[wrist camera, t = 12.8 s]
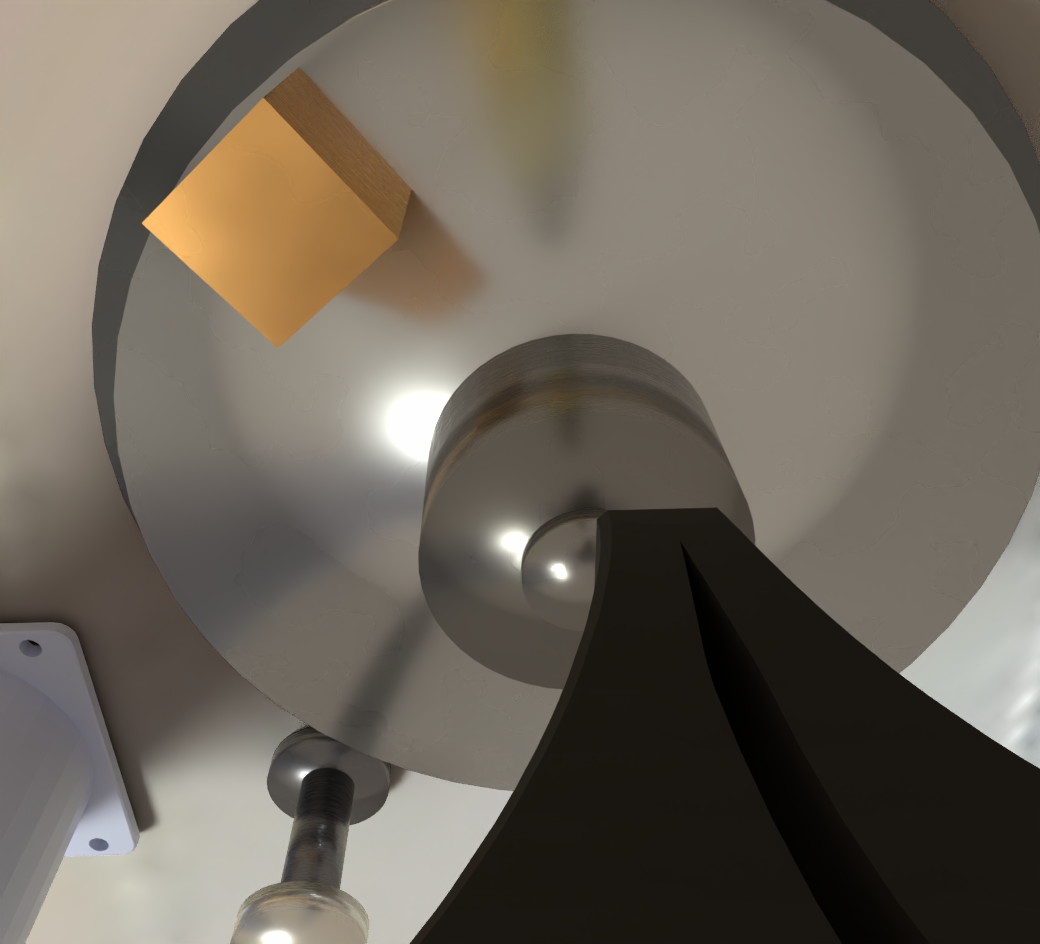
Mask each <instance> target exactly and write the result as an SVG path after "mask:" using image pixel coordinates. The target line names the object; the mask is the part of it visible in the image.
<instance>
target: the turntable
mask: <svg viewBox="0 0 1040 944" xmlns="http://www.w3.org/2000/svg"><path fill="white" fill-rule="evenodd" d="M142 224H143V225H144V226H145V227H146V228H147V229H148V230H149V231H151V232H150V234H149V237H148V239H147V242H146V244H145V247H144V249H143V252H142V254H141V257H140V259H139V262H138V264H137V267H136V269H135V272H134V274H133V277H132V279H131V283H130V288H129V292H128V296H127V301H126V305H125V309H124V314H123V318H122V322H121V327H120V331H119V335H118V342H117V356H116V370H115V384H114V408H115V420H116V433H117V445H118V454H119V458H120V462H121V467H122V471H123V475H124V480H125V484H126V488H127V492H128V497H129V501H130V505H131V507H132V510H133V513H134V515H135V518H136V520H137V523H138V525H139V528H140V530H141V533H142V536H143V538H144V541H145V543H146V546H147V548H148V551H149V553H150V555H151V557H152V559H153V561H154V562H155V564H156V566H157V568H158V569H159V571H160V573H161V575H162V577H163V578H164V580H165V582H166V584H167V585H168V587H169V589H170V591H171V593H172V594H173V596H174V598H175V599H176V601H177V602H178V603H179V605H180V606H181V607H182V609H183V610H184V611H185V613H186V614H187V615H188V617H189V618H190V619H191V621H192V622H193V623H194V625H195V626H196V627H197V629H198V630H199V631H200V633H201V634H202V635H203V637H204V638H205V639H206V640H207V641H208V642H209V643H210V644H211V645H212V646H213V647H214V648H215V649H216V650H217V651H218V652H219V653H220V655H221V656H222V657H223V658H224V659H225V660H226V661H227V662H228V663H229V664H230V665H231V666H232V667H233V668H234V669H235V670H236V671H237V672H238V673H239V674H240V675H241V676H242V677H244V678H245V679H246V680H247V681H249V682H250V683H251V684H252V685H254V686H255V687H256V688H257V689H258V690H260V691H261V692H262V693H263V694H265V695H266V696H267V697H268V698H269V699H271V700H272V701H273V702H274V703H276V704H277V705H278V706H280V707H282V708H283V709H285V710H286V711H288V712H289V713H291V714H292V715H294V716H296V717H297V718H299V719H300V720H302V721H303V722H305V723H306V724H308V725H310V726H311V727H313V728H314V729H316V730H317V731H319V732H321V733H323V734H325V735H327V736H329V737H331V738H333V739H335V740H337V741H339V742H341V743H343V744H345V745H347V746H349V747H351V748H353V749H355V750H357V751H359V752H361V753H364V754H367V755H369V756H372V757H375V758H377V759H380V760H382V761H385V762H388V763H390V764H393V765H396V766H398V767H401V768H404V769H406V770H410V771H414V772H418V773H421V774H425V775H429V776H433V777H436V778H440V779H444V780H448V781H451V782H456V783H462V784H468V785H474V786H480V787H486V788H492V789H498V790H509V791H514V790H515V788H516V786H517V784H518V782H519V780H520V778H521V777H522V775H523V773H524V771H525V769H526V767H527V765H528V764H529V762H530V760H531V758H532V756H533V754H534V752H535V750H536V748H537V746H538V744H539V742H540V740H541V738H542V736H543V734H544V732H545V730H546V727H547V725H548V723H549V721H550V719H551V717H552V715H553V712H554V710H555V708H556V705H557V703H558V701H559V698H560V696H561V693H562V691H563V690H562V689H552V688H544V687H540V686H535V685H530V684H526V683H523V682H520V681H516V680H513V679H510V678H507V677H505V676H503V675H501V674H499V673H496V672H494V671H492V670H490V669H488V668H487V667H485V666H483V665H482V664H480V663H478V662H477V661H475V660H473V659H472V658H471V657H470V656H468V655H467V654H466V653H465V652H463V651H462V650H461V649H459V648H458V646H457V645H456V644H455V643H454V642H453V641H452V640H451V639H450V638H449V637H448V636H447V635H446V634H445V632H444V631H443V630H442V628H441V627H440V626H439V624H438V623H437V622H436V620H435V618H434V616H433V614H432V612H431V611H430V609H429V607H428V605H427V602H426V599H425V596H424V593H423V591H422V587H421V581H420V576H419V563H418V551H419V542H420V532H421V523H422V513H423V503H424V494H425V484H426V475H427V465H428V456H429V449H430V442H431V438H432V434H433V431H434V428H435V424H436V422H437V420H438V418H439V416H440V414H441V411H442V409H443V408H444V406H445V404H446V403H447V401H448V400H449V398H450V397H451V395H452V394H453V393H454V391H455V390H456V389H457V388H458V387H459V386H460V384H461V383H462V382H463V381H464V380H465V379H466V378H467V377H468V376H469V375H470V374H472V373H473V372H474V371H475V370H476V369H477V368H478V367H480V366H481V365H483V364H484V363H486V362H487V361H489V360H490V359H492V358H493V357H494V356H496V355H498V354H500V353H502V352H504V351H506V350H508V349H510V348H512V347H514V346H517V345H520V344H523V343H526V342H528V341H531V340H535V339H540V338H544V337H549V336H555V335H565V334H594V335H601V336H608V337H613V338H617V339H621V340H624V341H628V342H631V343H634V344H636V345H638V346H641V347H643V348H645V349H648V350H650V351H651V352H653V353H655V354H656V355H658V356H660V357H661V358H663V359H665V360H666V361H667V362H668V363H670V364H671V365H672V366H673V367H675V368H676V369H677V370H678V371H680V373H681V374H682V375H683V376H684V377H685V378H686V379H687V380H688V381H689V382H690V383H691V384H692V386H693V387H694V389H695V390H696V392H697V393H698V395H699V396H700V398H701V399H702V401H703V403H704V406H705V408H706V410H707V412H708V414H709V416H710V418H711V421H712V423H713V425H714V427H715V430H716V432H717V434H718V437H719V439H720V441H721V443H722V446H723V448H724V450H725V452H726V455H727V457H728V459H729V462H730V464H731V466H732V468H733V471H734V473H735V475H736V477H737V480H738V482H739V484H740V487H741V489H742V491H743V493H744V496H745V498H746V500H747V502H748V505H749V509H750V512H751V515H752V519H753V524H754V532H755V546H756V547H757V548H758V549H759V550H760V551H761V552H762V553H763V554H764V555H765V556H766V557H767V558H768V559H769V560H770V561H771V562H772V563H774V564H775V565H776V566H777V567H778V568H779V569H780V570H781V571H782V572H783V573H784V574H785V575H786V576H787V577H788V578H789V579H790V580H791V581H792V582H793V583H794V584H795V585H796V586H797V587H798V588H799V589H800V590H801V591H803V592H804V593H805V594H806V595H807V596H808V597H809V598H810V599H811V600H812V601H813V602H815V603H816V604H817V605H818V606H819V607H820V608H821V609H822V610H823V611H824V612H826V613H827V614H828V615H829V616H830V617H831V618H832V619H833V620H835V621H836V622H837V623H838V624H839V625H840V626H842V627H843V628H844V629H845V630H846V631H847V632H848V633H850V634H851V635H852V636H853V637H854V638H855V639H857V640H858V641H859V642H860V643H862V644H863V645H864V646H865V647H867V648H868V649H869V650H870V651H872V652H873V653H874V654H875V655H877V656H878V657H879V658H880V659H881V660H883V661H884V662H885V663H886V664H888V665H889V666H890V667H891V668H893V669H894V670H895V671H896V672H898V673H900V672H901V671H903V670H904V669H905V668H906V667H908V666H909V665H910V664H911V663H912V662H913V661H915V660H916V659H917V658H918V657H919V656H920V655H921V654H922V653H923V652H924V651H925V650H926V649H927V648H928V647H929V646H930V645H931V644H932V643H933V642H934V641H935V640H936V639H937V638H938V637H939V636H940V635H941V634H942V633H943V632H944V631H945V630H946V629H947V628H948V627H949V626H950V624H951V623H952V622H953V621H954V620H955V618H956V617H957V616H958V615H959V613H960V612H961V611H962V610H963V609H964V607H965V606H966V605H967V604H968V602H969V601H970V600H971V599H972V597H973V596H974V595H975V594H976V593H977V591H978V590H979V589H980V588H981V586H982V585H983V583H984V581H985V580H986V578H987V577H988V575H989V574H990V572H991V570H992V569H993V567H994V566H995V564H996V563H997V561H998V559H999V558H1000V556H1001V555H1002V553H1003V552H1004V550H1005V548H1006V547H1007V545H1008V544H1009V542H1010V540H1011V538H1012V536H1013V533H1014V531H1015V529H1016V527H1017V525H1018V523H1019V521H1020V519H1021V517H1022V515H1023V512H1024V510H1025V508H1026V506H1027V504H1028V502H1029V500H1030V498H1031V496H1032V493H1033V490H1034V486H1035V483H1036V480H1037V477H1038V474H1039V471H1040V233H1039V229H1038V226H1037V223H1036V219H1035V217H1034V215H1033V213H1032V211H1031V209H1030V207H1029V205H1028V203H1027V201H1026V198H1025V196H1024V194H1023V192H1022V190H1021V188H1020V186H1019V184H1018V182H1017V180H1016V178H1015V176H1014V173H1013V171H1012V169H1011V167H1010V165H1009V163H1008V162H1007V160H1006V159H1005V158H1004V156H1003V155H1002V153H1001V152H1000V151H999V149H998V148H997V146H996V145H995V143H994V142H993V141H992V139H991V138H990V136H989V135H988V133H987V132H986V131H985V129H984V128H983V126H982V125H981V123H980V122H979V121H978V119H977V118H976V116H975V115H974V114H973V112H972V111H971V110H970V109H969V108H968V107H967V106H966V105H965V104H964V103H963V102H962V101H961V100H960V99H959V98H958V97H957V96H956V95H955V94H954V93H953V92H952V91H951V90H950V89H949V88H948V86H947V85H946V84H945V83H944V82H943V81H942V80H941V79H940V78H939V77H938V76H937V75H936V74H935V73H934V72H933V71H932V70H931V69H930V68H929V67H928V66H927V65H926V64H925V63H924V62H922V61H921V60H919V59H918V58H917V57H915V56H914V55H913V54H911V53H910V52H908V51H907V50H906V49H904V48H903V47H902V46H900V45H899V44H897V43H896V42H895V41H893V40H892V39H891V38H889V37H888V36H886V35H885V34H884V33H882V32H881V31H880V30H878V29H877V28H875V27H874V26H873V25H871V24H870V23H869V22H867V21H865V20H863V19H861V18H859V17H857V16H855V15H853V14H851V13H849V12H847V11H845V10H843V9H841V8H839V7H837V6H835V5H833V4H831V3H829V2H827V1H825V0H383V1H381V2H379V3H376V4H374V5H372V6H370V7H368V8H366V9H363V10H361V11H360V12H358V13H357V14H355V15H354V16H352V17H351V18H349V19H348V20H346V21H345V22H343V23H342V24H340V25H339V26H337V27H336V28H334V29H333V30H331V31H330V32H328V33H326V34H325V35H323V36H322V37H320V38H319V39H317V40H316V41H314V42H313V43H311V44H310V45H308V46H307V47H305V48H304V49H302V50H301V51H300V52H298V53H297V54H296V55H295V56H293V57H292V58H291V59H289V60H288V61H287V62H286V63H285V64H284V65H283V66H281V67H280V68H279V69H278V70H277V71H276V72H275V73H274V74H273V75H271V76H270V77H269V78H268V79H267V80H266V81H265V82H264V83H262V84H261V85H260V86H259V87H258V88H257V89H256V90H255V91H254V92H252V93H251V94H250V95H249V96H248V97H247V98H246V99H245V100H244V101H242V102H241V103H240V104H239V105H238V106H237V107H236V108H235V109H233V111H232V112H231V113H230V114H229V115H228V117H227V118H226V119H225V120H224V122H223V123H222V124H221V125H220V126H219V128H218V129H217V130H216V131H215V132H214V134H213V135H212V136H211V137H210V139H209V140H208V141H207V142H206V143H205V145H204V146H203V147H202V148H201V149H200V151H199V152H198V153H197V154H196V156H195V157H194V158H193V159H192V160H191V162H190V163H189V164H188V166H187V168H186V169H185V171H184V173H183V174H182V176H181V178H180V179H179V181H178V183H177V184H176V186H175V188H174V190H173V191H172V192H171V193H170V194H169V195H168V196H167V197H166V199H165V200H164V201H163V202H162V203H161V204H160V205H159V206H158V207H157V208H156V209H155V210H154V211H153V212H152V213H151V214H150V215H149V216H148V217H147V218H146V219H145V220H144V221H143V222H142Z"/></svg>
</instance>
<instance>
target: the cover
mask: <svg viewBox="0 0 1040 944" xmlns="http://www.w3.org/2000/svg"><path fill="white" fill-rule="evenodd" d="M715 507H717V508H718V509H719V510H720V511H721V512H722V513H723V514H724V515H725V516H726V517H727V518H728V519H729V520H730V521H731V522H732V523H733V524H734V525H735V526H736V527H737V528H738V529H739V530H740V531H741V532H742V533H743V534H744V535H745V536H746V537H747V538H748V539H749V540H750V541H751V542H752V543H753V544H754V545H755V532H754V524H753V519H752V515H751V512H750V509H749V505H748V502H747V500H746V498H745V496H744V493H743V491H742V489H741V487H740V484H739V482H738V480H737V477H736V475H735V473H734V471H733V468H732V466H731V464H730V462H729V459H728V457H727V455H726V452H725V450H724V448H723V446H722V443H721V441H720V439H719V437H718V434H717V432H716V430H715V427H714V425H713V423H712V421H711V418H710V416H709V414H708V412H707V410H706V408H705V406H704V403H703V401H702V399H701V398H700V396H699V395H698V393H697V392H696V390H695V389H694V387H693V386H692V384H691V383H690V382H689V381H688V380H687V379H686V378H685V377H684V376H683V375H682V374H681V373H680V371H678V370H677V369H676V368H675V367H673V366H672V365H671V364H670V363H668V362H667V361H666V360H665V359H663V358H661V357H660V356H658V355H656V354H655V353H653V352H651V351H650V350H648V349H645V348H643V347H641V346H638V345H636V344H634V343H631V342H628V341H624V340H621V339H617V338H613V337H608V336H601V335H594V334H565V335H555V336H549V337H544V338H540V339H535V340H531V341H528V342H526V343H523V344H520V345H517V346H514V347H512V348H510V349H508V350H506V351H504V352H502V353H500V354H498V355H496V356H494V357H493V358H492V359H490V360H489V361H487V362H486V363H484V364H483V365H481V366H480V367H478V368H477V369H476V370H475V371H474V372H473V373H472V374H470V375H469V376H468V377H467V378H466V379H465V380H464V381H463V382H462V383H461V384H460V386H459V387H458V388H457V389H456V390H455V391H454V393H453V394H452V395H451V397H450V398H449V400H448V401H447V403H446V404H445V406H444V408H443V409H442V411H441V414H440V416H439V418H438V420H437V422H436V424H435V428H434V431H433V434H432V438H431V442H430V449H429V456H428V465H427V475H426V484H425V494H424V503H423V513H422V523H421V532H420V542H419V551H418V563H419V576H420V581H421V587H422V591H423V593H424V596H425V599H426V602H427V605H428V607H429V609H430V611H431V612H432V614H433V616H434V618H435V620H436V622H437V623H438V624H439V626H440V627H441V628H442V630H443V631H444V632H445V634H446V635H447V636H448V637H449V638H450V639H451V640H452V641H453V642H454V643H455V644H456V645H457V646H458V648H459V649H461V650H462V651H463V652H465V653H466V654H467V655H468V656H470V657H471V658H472V659H473V660H475V661H477V662H478V663H480V664H482V665H483V666H485V667H487V668H488V669H490V670H492V671H494V672H496V673H499V674H501V675H503V676H505V677H507V678H510V679H513V680H516V681H520V682H523V683H526V684H530V685H535V686H540V687H544V688H552V689H562V690H563V688H564V686H565V684H566V681H567V678H568V676H569V673H570V670H571V667H572V664H573V661H574V658H575V655H576V653H577V650H578V647H579V644H580V641H581V638H582V635H583V632H584V629H585V626H586V622H587V618H588V614H589V610H590V606H591V602H592V597H593V593H594V583H595V555H596V526H597V519H598V518H599V517H600V516H601V515H602V514H604V513H605V512H606V511H607V510H637V509H676V508H715Z"/></svg>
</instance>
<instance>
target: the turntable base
mask: <svg viewBox="0 0 1040 944" xmlns="http://www.w3.org/2000/svg"><path fill="white" fill-rule="evenodd" d="M381 1H383V0H259V1H258V2H257V3H256V4H255V5H253V6H252V7H251V8H250V9H249V10H247V11H246V12H245V13H244V14H243V15H241V16H240V17H239V18H238V19H237V20H235V21H234V22H233V23H232V24H231V25H230V26H229V27H228V28H227V29H226V30H225V32H224V33H223V34H222V35H221V36H220V37H219V38H218V39H217V41H216V42H215V43H214V44H213V45H212V46H211V47H210V49H209V50H208V51H207V52H206V53H205V54H204V55H203V56H202V58H201V59H200V60H199V61H198V62H197V63H196V64H195V66H194V67H193V68H192V69H191V70H190V71H189V72H188V73H187V75H186V76H185V77H184V78H183V79H182V80H181V82H180V83H179V85H178V87H177V88H176V90H175V91H174V93H173V94H172V96H171V97H170V99H169V101H168V102H167V104H166V105H165V107H164V108H163V110H162V112H161V113H160V115H159V116H158V118H157V119H156V121H155V122H154V124H153V126H152V127H151V129H150V130H149V132H148V133H147V135H146V136H145V138H144V140H143V142H142V144H141V146H140V149H139V151H138V153H137V155H136V158H135V160H134V162H133V164H132V167H131V169H130V171H129V173H128V176H127V178H126V180H125V182H124V185H123V187H122V189H121V191H120V194H119V196H118V198H117V200H116V203H115V207H114V211H113V214H112V218H111V222H110V225H109V229H108V233H107V237H106V240H105V244H104V248H103V251H102V255H101V259H100V262H99V268H98V277H97V286H96V295H95V304H94V313H93V322H92V341H93V368H94V388H95V393H96V398H97V404H98V409H99V415H100V420H101V425H102V431H103V436H104V442H105V445H106V448H107V451H108V454H109V457H110V460H111V463H112V466H113V469H114V472H115V475H116V478H117V481H118V484H119V487H120V490H121V493H122V495H123V497H124V499H125V501H126V504H127V506H128V508H129V510H130V512H131V514H132V516H133V518H134V520H135V522H136V524H137V526H138V528H139V525H138V523H137V520H136V518H135V515H134V513H133V510H132V507H131V505H130V501H129V497H128V492H127V488H126V484H125V480H124V475H123V471H122V467H121V462H120V458H119V454H118V445H117V433H116V420H115V408H114V384H115V370H116V356H117V342H118V335H119V331H120V327H121V322H122V318H123V314H124V309H125V305H126V301H127V296H128V292H129V288H130V283H131V279H132V277H133V274H134V272H135V269H136V267H137V264H138V262H139V259H140V257H141V254H142V252H143V249H144V247H145V244H146V242H147V239H148V237H149V234H150V232H151V231H149V230H148V229H147V228H146V227H145V226H144V225H143V224H142V222H143V221H144V220H145V219H146V218H147V217H148V216H149V215H150V214H151V213H152V212H153V211H154V210H155V209H156V208H157V207H158V206H159V205H160V204H161V203H162V202H163V201H164V200H165V199H166V197H167V196H168V195H169V194H170V193H171V192H172V191H173V190H174V188H175V186H176V184H177V183H178V181H179V179H180V178H181V176H182V174H183V173H184V171H185V169H186V168H187V166H188V164H189V163H190V162H191V160H192V159H193V158H194V157H195V156H196V154H197V153H198V152H199V151H200V149H201V148H202V147H203V146H204V145H205V143H206V142H207V141H208V140H209V139H210V137H211V136H212V135H213V134H214V132H215V131H216V130H217V129H218V128H219V126H220V125H221V124H222V123H223V122H224V120H225V119H226V118H227V117H228V115H229V114H230V113H231V112H232V111H233V109H235V108H236V107H237V106H238V105H239V104H240V103H241V102H242V101H244V100H245V99H246V98H247V97H248V96H249V95H250V94H251V93H252V92H254V91H255V90H256V89H257V88H258V87H259V86H260V85H261V84H262V83H264V82H265V81H266V80H267V79H268V78H269V77H270V76H271V75H273V74H274V73H275V72H276V71H277V70H278V69H279V68H280V67H281V66H283V65H284V64H285V63H286V62H287V61H288V60H289V59H291V58H292V57H293V56H295V55H296V54H297V53H298V52H300V51H301V50H302V49H304V48H305V47H307V46H308V45H310V44H311V43H313V42H314V41H316V40H317V39H319V38H320V37H322V36H323V35H325V34H326V33H328V32H330V31H331V30H333V29H334V28H336V27H337V26H339V25H340V24H342V23H343V22H345V21H346V20H348V19H349V18H351V17H352V16H354V15H355V14H357V13H358V12H360V11H361V10H363V9H366V8H368V7H370V6H372V5H374V4H376V3H379V2H381ZM825 1H827V2H829V3H831V4H833V5H835V6H837V7H839V8H841V9H843V10H845V11H847V12H849V13H851V14H853V15H855V16H857V17H859V18H861V19H863V20H865V21H867V22H869V23H870V24H871V25H873V26H874V27H875V28H877V29H878V30H880V31H881V32H882V33H884V34H885V35H886V36H888V37H889V38H891V39H892V40H893V41H895V42H896V43H897V44H899V45H900V46H902V47H903V48H904V49H906V50H907V51H908V52H910V53H911V54H913V55H914V56H915V57H917V58H918V59H919V60H921V61H922V62H924V63H925V64H926V65H927V66H928V67H929V68H930V69H931V70H932V71H933V72H934V73H935V74H936V75H937V76H938V77H939V78H940V79H941V80H942V81H943V82H944V83H945V84H946V85H947V86H948V88H949V89H950V90H951V91H952V92H953V93H954V94H955V95H956V96H957V97H958V98H959V99H960V100H961V101H962V102H963V103H964V104H965V105H966V106H967V107H968V108H969V109H970V110H971V111H972V112H973V114H974V115H975V116H976V118H977V119H978V121H979V122H980V123H981V125H982V126H983V128H984V129H985V131H986V132H987V133H988V135H989V136H990V138H991V139H992V141H993V142H994V143H995V145H996V146H997V148H998V149H999V151H1000V152H1001V153H1002V155H1003V156H1004V158H1005V159H1006V160H1007V162H1008V163H1009V165H1010V167H1011V169H1012V171H1013V173H1014V176H1015V178H1016V180H1017V182H1018V184H1019V186H1020V188H1021V190H1022V192H1023V194H1024V196H1025V198H1026V201H1027V203H1028V205H1029V207H1030V209H1031V211H1032V213H1033V215H1034V217H1035V219H1036V223H1037V226H1038V229H1039V233H1040V164H1039V161H1038V159H1037V156H1036V154H1035V151H1034V148H1033V146H1032V143H1031V141H1030V138H1029V136H1028V133H1027V131H1026V128H1025V126H1024V123H1023V122H1022V120H1021V118H1020V117H1019V115H1018V113H1017V112H1016V110H1015V108H1014V107H1013V105H1012V103H1011V102H1010V100H1009V98H1008V97H1007V95H1006V93H1005V92H1004V90H1003V88H1002V87H1001V85H1000V83H999V81H998V80H997V78H996V76H995V75H994V73H993V71H992V70H991V68H990V66H989V65H988V64H987V63H986V62H985V61H984V59H983V58H982V57H981V56H980V55H979V53H978V52H977V51H976V50H975V49H974V48H973V46H972V45H971V44H970V43H969V42H968V40H967V39H966V38H965V37H964V36H963V35H962V33H961V32H960V31H959V30H958V29H957V27H956V26H955V25H954V24H953V23H952V22H951V20H950V19H949V18H948V17H947V16H946V14H945V13H944V12H942V11H941V10H940V9H939V8H938V7H936V6H935V5H934V4H933V3H932V2H931V1H929V0H825ZM139 530H140V528H139ZM140 532H141V530H140ZM141 534H142V533H141Z"/></svg>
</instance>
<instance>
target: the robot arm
mask: <svg viewBox="0 0 1040 944" xmlns="http://www.w3.org/2000/svg"><path fill="white" fill-rule="evenodd" d="M28 640H32V641H35V642H36V643H38V644H39V645H40V646H36V645H33V644H31V643H30V642H28ZM139 838H140V835H139V830H138V827H137V824H136V820H135V817H134V814H133V811H132V808H131V804H130V801H129V798H128V795H127V792H126V788H125V785H124V782H123V779H122V776H121V772H120V769H119V766H118V763H117V760H116V757H115V753H114V750H113V747H112V744H111V741H110V737H109V734H108V731H107V728H106V725H105V721H104V718H103V715H102V712H101V709H100V705H99V702H98V699H97V696H96V693H95V690H94V686H93V683H92V680H91V677H90V674H89V670H88V667H87V664H86V661H85V658H84V654H83V651H82V648H81V645H80V642H79V638H78V636H77V635H76V633H75V631H73V630H72V629H71V628H70V627H69V626H66V625H64V624H61V623H55V622H38V623H2V624H0V944H25V943H26V940H27V938H28V936H29V934H30V931H31V929H32V927H33V925H34V922H35V920H36V918H37V916H38V913H39V911H40V909H41V907H42V904H43V902H44V900H45V898H46V895H47V893H48V891H49V889H50V886H51V884H52V882H53V880H54V877H55V875H56V873H57V871H58V868H59V866H60V864H61V862H62V859H63V857H73V856H104V855H123V854H128V853H130V852H132V851H134V849H135V848H136V846H137V843H138V840H139ZM410 944H1040V769H1039V768H1038V767H1036V766H1034V765H1033V764H1031V763H1029V762H1027V761H1026V760H1024V759H1023V758H1021V757H1019V756H1018V755H1016V754H1015V753H1013V752H1011V751H1010V750H1008V749H1007V748H1005V747H1003V746H1002V745H1000V744H999V743H997V742H996V741H994V740H992V739H991V738H989V737H988V736H986V735H985V734H983V733H982V732H980V731H979V730H977V729H976V728H975V727H973V726H972V725H970V724H969V723H967V722H966V721H964V720H963V719H962V718H960V717H959V716H957V715H956V714H954V713H953V712H951V711H950V710H948V709H947V708H946V707H944V706H943V705H941V704H940V703H938V702H937V701H935V700H934V699H933V698H931V697H930V696H928V695H927V694H926V693H924V692H923V691H921V690H920V689H919V688H917V687H916V686H915V685H913V684H912V683H911V682H909V681H908V680H907V679H905V678H904V677H903V676H901V675H900V674H899V673H898V672H896V671H895V670H894V669H893V668H891V667H890V666H889V665H888V664H886V663H885V662H884V661H883V660H881V659H880V658H879V657H878V656H877V655H875V654H874V653H873V652H872V651H870V650H869V649H868V648H867V647H865V646H864V645H863V644H862V643H860V642H859V641H858V640H857V639H855V638H854V637H853V636H852V635H851V634H850V633H848V632H847V631H846V630H845V629H844V628H843V627H842V626H840V625H839V624H838V623H837V622H836V621H835V620H833V619H832V618H831V617H830V616H829V615H828V614H827V613H826V612H824V611H823V610H822V609H821V608H820V607H819V606H818V605H817V604H816V603H815V602H813V601H812V600H811V599H810V598H809V597H808V596H807V595H806V594H805V593H804V592H803V591H801V590H800V589H799V588H798V587H797V586H796V585H795V584H794V583H793V582H792V581H791V580H790V579H789V578H788V577H787V576H786V575H785V574H784V573H783V572H782V571H781V570H780V569H779V568H778V567H777V566H776V565H775V564H774V563H772V562H771V561H770V560H769V559H768V558H767V557H766V556H765V555H764V554H763V553H762V552H761V551H760V550H759V549H758V548H757V547H756V546H755V545H754V544H753V543H752V542H751V541H750V540H749V539H748V538H747V537H746V536H745V535H744V534H743V533H742V532H741V531H740V530H739V529H738V528H737V527H736V526H735V525H734V524H733V523H732V522H731V521H730V520H729V519H728V518H727V517H726V516H725V515H724V514H723V513H722V512H721V511H720V510H719V509H718V508H717V507H715V508H676V509H637V510H607V511H606V512H605V513H604V514H602V515H601V516H600V517H599V518H598V519H597V526H596V555H595V583H594V593H593V597H592V602H591V606H590V610H589V614H588V618H587V622H586V626H585V629H584V632H583V635H582V638H581V641H580V644H579V647H578V650H577V653H576V655H575V658H574V661H573V664H572V667H571V670H570V673H569V676H568V678H567V681H566V684H565V686H564V688H563V691H562V693H561V696H560V698H559V701H558V703H557V705H556V708H555V710H554V712H553V715H552V717H551V719H550V721H549V723H548V725H547V727H546V730H545V732H544V734H543V736H542V738H541V740H540V742H539V744H538V746H537V748H536V750H535V752H534V754H533V756H532V758H531V760H530V762H529V764H528V765H527V767H526V769H525V771H524V773H523V775H522V777H521V778H520V780H519V782H518V784H517V786H516V788H515V790H514V792H513V793H512V795H511V797H510V799H509V800H508V802H507V804H506V805H505V807H504V809H503V811H502V812H501V814H500V816H499V817H498V819H497V820H496V822H495V824H494V825H493V827H492V828H491V830H490V831H489V833H488V834H487V836H486V837H485V839H484V840H483V842H482V843H481V845H480V846H479V848H478V849H477V851H476V852H475V854H474V855H473V857H472V858H471V860H470V862H469V863H468V865H467V866H466V868H465V869H464V871H463V872H462V874H461V875H460V877H459V878H458V880H457V881H456V883H455V884H454V886H453V887H452V889H451V890H450V892H449V893H448V894H447V896H446V897H445V898H444V900H443V901H442V903H441V904H440V905H439V907H438V908H437V909H436V911H435V912H434V913H433V915H432V916H431V917H430V919H429V920H428V921H427V922H426V924H425V925H424V926H423V927H422V929H421V930H420V931H419V932H418V934H417V935H416V936H415V937H414V939H413V940H412V941H411V943H410Z"/></svg>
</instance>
